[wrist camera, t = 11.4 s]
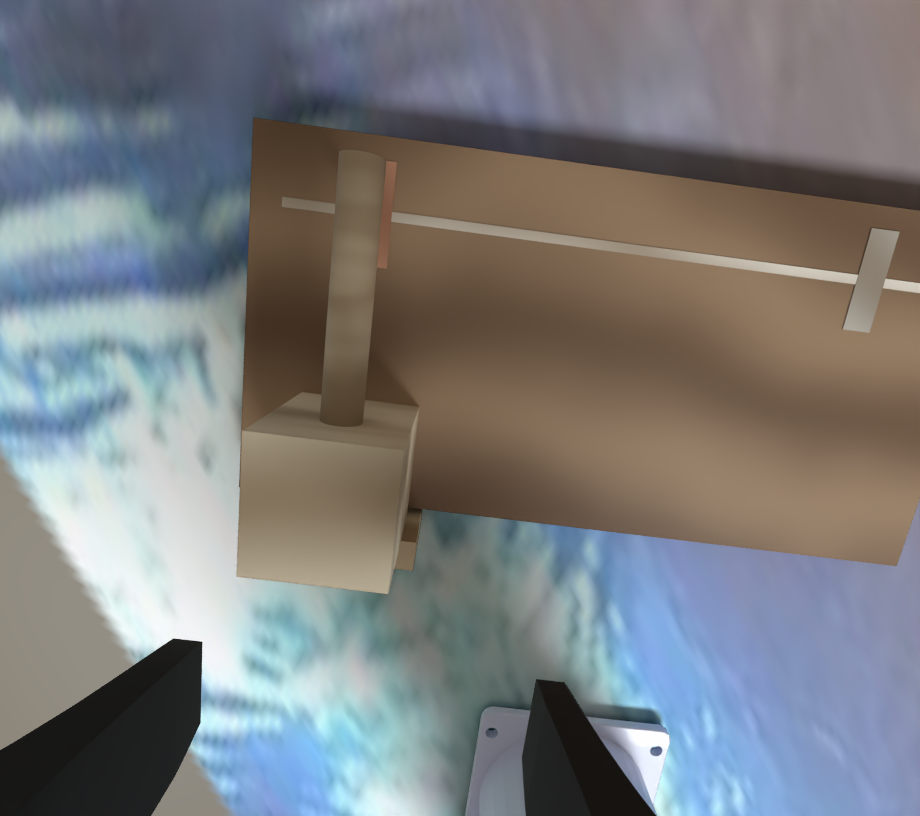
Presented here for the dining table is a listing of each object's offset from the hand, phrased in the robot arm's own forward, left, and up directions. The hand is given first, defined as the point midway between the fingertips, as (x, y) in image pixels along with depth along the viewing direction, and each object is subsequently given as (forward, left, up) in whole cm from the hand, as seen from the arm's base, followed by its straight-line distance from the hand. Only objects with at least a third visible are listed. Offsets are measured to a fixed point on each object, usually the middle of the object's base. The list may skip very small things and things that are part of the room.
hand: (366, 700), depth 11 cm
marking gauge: (+6, +2, -9) cm, 11 cm away
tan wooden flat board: (+7, -6, -9) cm, 13 cm away
